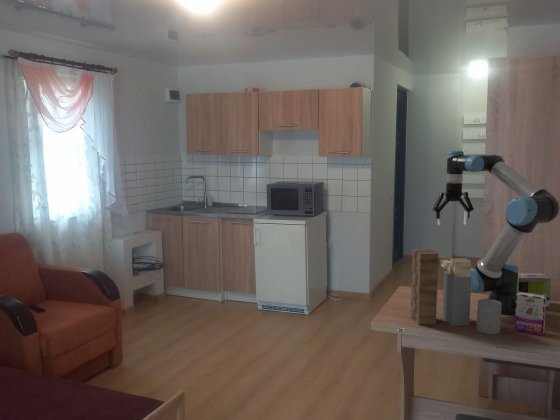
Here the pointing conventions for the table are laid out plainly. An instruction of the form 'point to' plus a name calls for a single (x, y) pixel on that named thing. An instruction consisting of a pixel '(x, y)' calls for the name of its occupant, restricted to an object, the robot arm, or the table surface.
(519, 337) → the table surface
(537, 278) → the tea box
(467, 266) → the tan wooden bar
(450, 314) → the grey pedestal
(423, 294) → the walnut plinth
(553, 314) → the table surface
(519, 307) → the candy bar box
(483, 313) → the concrete cylinder
